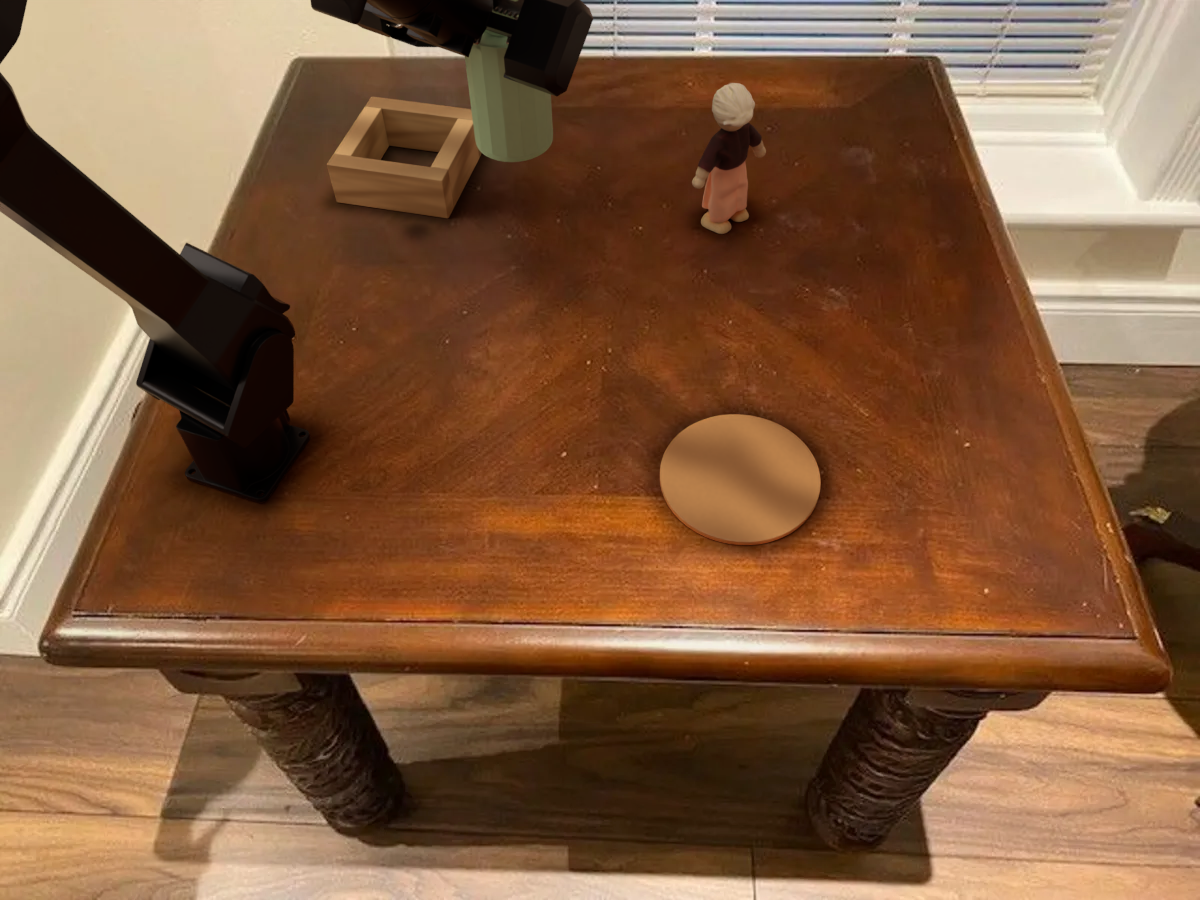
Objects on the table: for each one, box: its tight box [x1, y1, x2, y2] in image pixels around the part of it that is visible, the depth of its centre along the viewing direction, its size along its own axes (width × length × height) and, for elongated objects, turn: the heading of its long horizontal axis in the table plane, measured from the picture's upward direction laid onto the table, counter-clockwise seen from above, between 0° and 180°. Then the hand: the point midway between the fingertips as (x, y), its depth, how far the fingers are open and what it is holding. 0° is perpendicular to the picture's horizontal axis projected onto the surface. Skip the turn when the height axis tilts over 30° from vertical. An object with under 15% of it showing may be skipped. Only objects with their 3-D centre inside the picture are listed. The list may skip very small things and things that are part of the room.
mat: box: [659, 413, 822, 546], centre depth 71 cm, size 11×11×1 cm
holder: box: [326, 96, 483, 219], centre depth 92 cm, size 10×10×4 cm
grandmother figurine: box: [691, 82, 767, 235], centre depth 83 cm, size 8×4×13 cm, turn 141°
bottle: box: [464, 0, 554, 163], centre depth 80 cm, size 6×6×14 cm
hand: (517, 52), depth 81 cm, fingers closed on bottle, 6 cm apart
